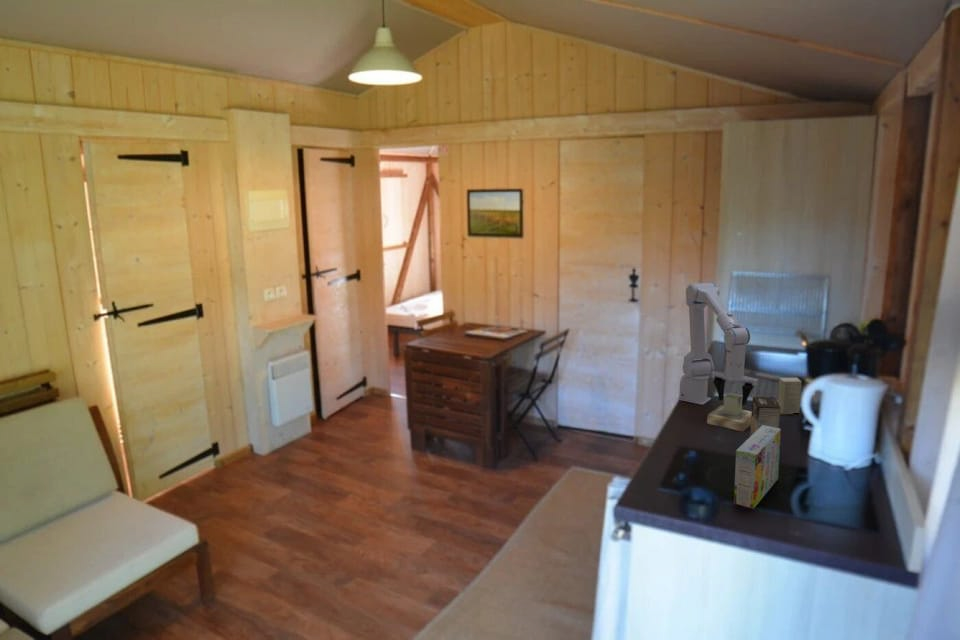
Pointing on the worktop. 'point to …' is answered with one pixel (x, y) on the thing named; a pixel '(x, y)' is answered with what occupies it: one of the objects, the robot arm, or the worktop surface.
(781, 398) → the skincare box
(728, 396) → the green block
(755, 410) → the coffee box
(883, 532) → the worktop surface
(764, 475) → the snack box
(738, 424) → the base block
